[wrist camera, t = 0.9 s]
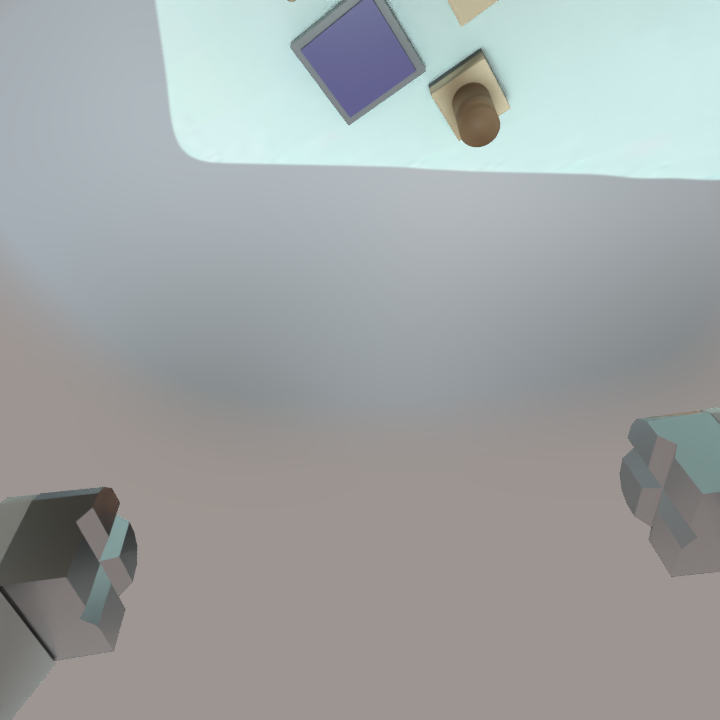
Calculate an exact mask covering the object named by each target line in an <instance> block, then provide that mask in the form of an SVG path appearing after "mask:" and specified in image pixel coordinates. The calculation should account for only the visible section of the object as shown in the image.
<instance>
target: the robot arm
mask: <svg viewBox="0 0 720 720" xmlns="http://www.w3.org/2000/svg"><path fill="white" fill-rule="evenodd" d="M628 439H629V441H630V442H631V443H632V445H633V446H634V448H633V449H632V450H631V451H630V452H629V453H628V454H627V455H626V456H625V457H624V458H623V459H622V464H621V470H620V480H621V487H622V492H623V495H624V497H625V500H626V503H627V505H628V506H629V508H630V510H631V511H632V513H633V515H634V516H635V517H637V518H638V519H640V520H641V521H643V522H644V523H646V524H648V525H649V526H651V531H650V536H649V541H650V543H651V544H652V546H653V548H654V549H655V551H656V553H657V554H658V556H659V557H660V559H661V561H662V562H663V564H664V565H665V567H666V569H667V570H668V572H669V573H670V575H671V577H675V576H685V575H694V574H704V573H713V572H720V407H719V408H712V409H705V410H700V411H691V412H684V413H677V414H670V415H662V416H654V417H647V418H640V419H636V420H635V422H634V423H633V424H632V425H631V428H630V431H629V435H628ZM119 504H120V502H119V500H118V498H117V496H116V494H115V493H114V491H113V489H112V488H108V487H99V488H89V489H80V490H70V491H60V492H50V493H41V494H38V495H28V496H18V497H8V498H6V499H5V500H3V501H2V502H1V503H0V720H12V718H13V717H14V716H15V715H16V713H17V712H18V711H19V710H20V708H21V707H22V706H23V705H24V703H25V702H26V701H27V700H28V698H29V697H30V696H31V695H32V693H33V692H34V691H35V690H36V688H37V687H38V686H39V684H40V683H41V682H42V681H43V680H44V678H45V677H46V676H47V674H48V673H49V672H50V671H51V669H52V668H53V667H54V666H55V662H54V661H57V660H64V659H69V658H75V657H82V656H88V655H95V654H101V653H106V652H112V651H114V649H115V645H116V641H117V637H118V634H119V630H120V627H121V623H122V620H123V616H124V612H125V607H124V605H123V604H122V602H121V600H120V598H119V596H120V595H121V594H122V593H123V592H124V591H125V590H126V588H127V587H128V586H129V585H130V584H131V583H132V582H133V578H134V574H135V570H136V566H137V542H136V538H135V533H134V531H133V529H132V526H131V524H130V522H129V521H127V520H125V519H123V518H122V517H120V516H118V515H117V511H118V508H119Z"/></svg>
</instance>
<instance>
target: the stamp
mask: <svg viewBox="0 0 720 720" xmlns="http://www.w3.org/2000/svg"><path fill="white" fill-rule="evenodd" d="M429 89H430V93H431V96H432V98H433V99H434V101H435V103H436V104H437V106H438V107H439V109H440V111H441V112H442V114H443V116H444V117H445V119H446V121H447V122H448V124H449V125H450V127H451V129H452V130H453V132H454V134H455V135H456V137H457V139H458V140H459V141H460V140H461V139H462V140H463V142H464V143H465V144H467V145H469V146H472V147H482V146H485V145H487V144H489V143H490V142H492V141H493V140H494V139H495V137H496V136H497V134H498V132H499V129H500V120H499V117H498V116H499V115H501V114H503V113H504V112H506V111H507V110H509V109H511V108H510V106H509V103H508V101H507V99H506V97H505V95H504V93H503V91H502V89H501V87H500V85H499V83H498V81H497V79H496V77H495V75H494V73H493V71H492V70H491V68H490V66H489V64H488V62H487V60H486V58H485V56H484V54H483V52H482V50H481V48H480V49H479V50H477V51H476V52H475V53H473V54H472V55H470V56H469V57H467V58H466V59H464V60H463V61H462V62H460V63H459V64H457V65H456V66H454V67H453V68H452V69H450V70H449V71H447V72H446V73H444V74H443V75H441V76H440V77H439V78H437V79H436V80H434V81H433V82H431V83H430V84H429Z"/></svg>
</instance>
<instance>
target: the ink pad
mask: <svg viewBox="0 0 720 720" xmlns="http://www.w3.org/2000/svg"><path fill="white" fill-rule="evenodd" d="M290 48H291V49H292V50H293V52H294V53H295V54H296V56H297V57H298V58H299V60H300V61H301V62H302V64H303V65H304V66H305V68H306V69H307V70H308V72H309V73H310V74H311V76H312V77H313V78H314V80H315V81H316V82H317V84H318V85H319V87H320V88H321V89H322V91H323V92H324V93H325V95H326V96H327V97H328V99H329V100H330V101H331V103H332V104H333V105H334V107H335V108H336V109H337V111H338V112H339V113H340V115H341V116H342V117H343V119H344V120H345V121H346V123H347V124H348V125H350V124H352V123H353V122H354V121H356V120H357V119H359V118H360V117H362V116H363V115H364V114H366V113H367V112H369V111H370V110H371V109H373V108H374V107H376V106H377V105H378V104H380V103H381V102H383V101H384V100H386V99H387V98H388V97H390V96H391V95H393V94H394V93H395V92H397V91H398V90H400V89H401V88H403V87H404V86H405V85H407V84H408V83H410V82H411V81H412V80H414V79H415V78H417V77H418V76H420V75H421V74H422V73H424V72H425V71H426V70H425V66H424V64H423V63H422V61H421V59H420V58H419V56H418V54H417V53H416V51H415V49H414V48H413V46H412V44H411V43H410V41H409V39H408V38H407V36H406V34H405V33H404V31H403V29H402V28H401V26H400V24H399V23H398V21H397V19H396V18H395V16H394V14H393V12H392V11H391V9H390V7H389V6H388V4H387V2H386V1H385V0H342V1H341V2H340V3H339V4H338V5H336V6H335V7H334V8H333V9H332V10H330V11H329V12H328V13H327V14H326V15H324V16H323V17H322V18H321V19H320V20H318V21H317V22H316V23H315V24H313V25H312V26H311V27H310V28H309V29H307V30H306V31H305V32H304V33H303V34H301V35H300V36H299V37H298V38H297V39H295V40H294V41H293V42H292V43H291V46H290Z"/></svg>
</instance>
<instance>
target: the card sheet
mask: <svg viewBox="0 0 720 720" xmlns="http://www.w3.org/2000/svg"><path fill="white" fill-rule="evenodd" d="M496 1H498V0H448V2H449V4H450V6H451V8H452V10H453V11H454V13H455V15H456V17H457V19H458V21H459V23H460V25H461V27H462V26H463V25H465V24H466V23H467V22H469V21H470V20H472V19H473V18H474V17H476V16H477V15H478V14H480V13H481V12H483V11H484V10H485V9H487V8H488V7H490V6H491V5H492V4H494V3H495V2H496Z"/></svg>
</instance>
